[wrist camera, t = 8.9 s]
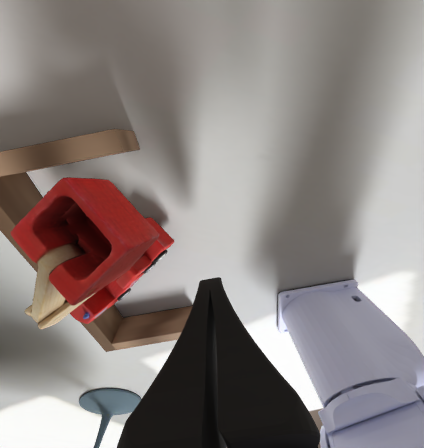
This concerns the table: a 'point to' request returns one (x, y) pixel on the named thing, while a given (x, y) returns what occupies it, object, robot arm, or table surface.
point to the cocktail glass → (108, 405)
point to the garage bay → (29, 196)
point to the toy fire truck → (86, 249)
